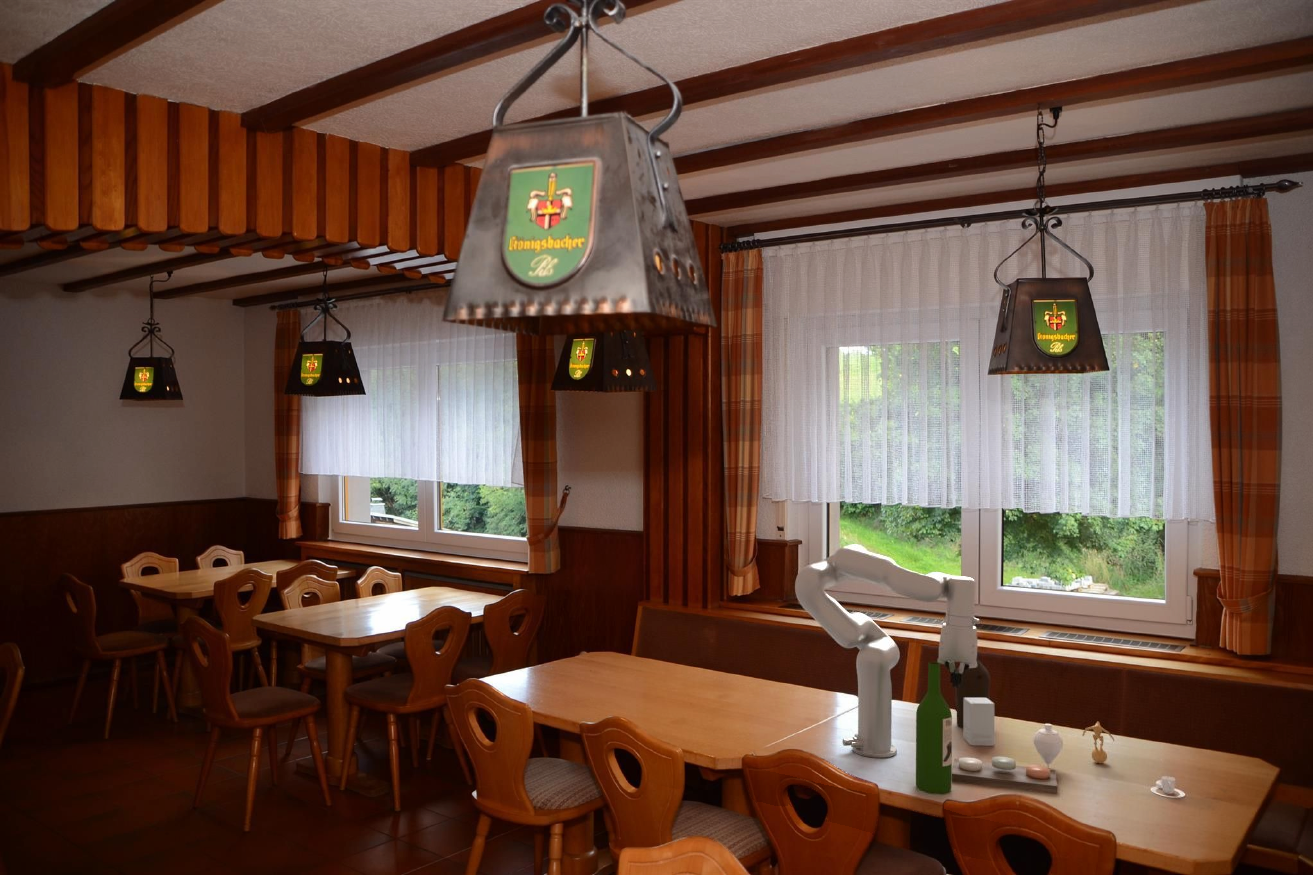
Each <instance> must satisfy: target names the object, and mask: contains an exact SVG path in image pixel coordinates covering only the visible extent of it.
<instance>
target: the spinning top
mask: <svg viewBox="0 0 1313 875" xmlns="http://www.w3.org/2000/svg"><path fill="white" fill-rule="evenodd" d="M1032 741H1033V744H1034V747H1035V749H1036V751H1037V753H1038V755H1039V756H1040V757H1041V759H1042V761H1043V762H1044V763H1045V764H1046V765H1047V766H1046V767H1047V768H1049V769H1050V767H1049V765H1051V763H1053V761H1054V760H1055V759H1056V758H1057V757H1058V755H1059V754H1060V753H1061V750H1062V749H1063V746H1064V740H1063V737H1062V736H1061V735H1060V733H1059V732H1058V731H1057V730H1054V729H1053V724H1051V723H1045V724H1044V728H1041V729H1038V731H1037V732H1036V733H1035V734H1034V736H1033V740H1032Z"/></svg>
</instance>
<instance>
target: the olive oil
mask: <svg viewBox="0 0 1313 875" xmlns="http://www.w3.org/2000/svg"><path fill="white" fill-rule="evenodd" d="M976 660H977V667H976V668H968V669H967V670H965V671H964V672H963V673H962V684H959V688H958V687H956V686H955V687H954V688H955V703H956V704H955V705H956V706H955V712H956V726H958V727H960V728H961V729H963V702H964V698H988V699H989V700H990V686H991V677H990V673H989V671H988V670H987V668H986V667H985V666H984V665H983V664H982V662H981V661H980V660H979V649H978V647H977V659H976ZM965 664H966V663H965ZM958 669H959V667H958V668H956V671H957V672H958Z"/></svg>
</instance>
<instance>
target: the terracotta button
mask: <svg viewBox="0 0 1313 875" xmlns="http://www.w3.org/2000/svg"><path fill="white" fill-rule="evenodd" d="M1025 767H1026V775H1028V776H1030V777H1033V778H1039V779H1046V778H1049V777H1050V770H1051V769H1050V767H1049V768H1048V767H1047V766H1044V765H1038V764H1029V765H1026V766H1025Z"/></svg>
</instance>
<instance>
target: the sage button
mask: <svg viewBox="0 0 1313 875" xmlns="http://www.w3.org/2000/svg"><path fill="white" fill-rule="evenodd" d="M1016 762H1017V761H1016V760H1015V759H1013V758H1010V757H1007V756H994V757H991V763H992V766H993V767H995V768H997V769H1002V770H1013V769H1015V768H1016V766H1017V765H1016V764H1017V763H1016Z"/></svg>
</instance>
